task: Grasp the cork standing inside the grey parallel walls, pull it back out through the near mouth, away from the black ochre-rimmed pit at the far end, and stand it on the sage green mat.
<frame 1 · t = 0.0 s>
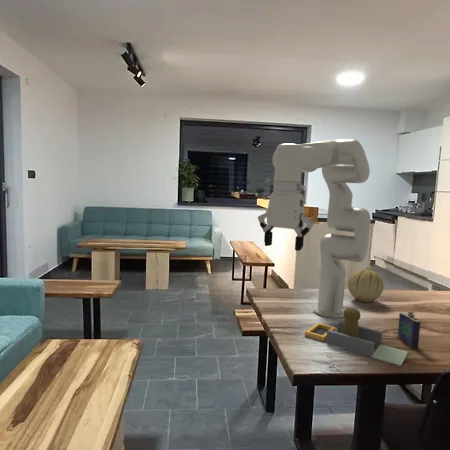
hand: (282, 247, 106), 31 cm above the table, tool pointing down, fingers open, 9 cm apart
grey parallel walls: (354, 343, 117), on the table
pit: (320, 333, 124), on the table
cork: (349, 342, 118), on the table
mat: (390, 355, 110), on the table
flask: (407, 343, 120), on the table
cantaloupe: (363, 301, 164), on the table
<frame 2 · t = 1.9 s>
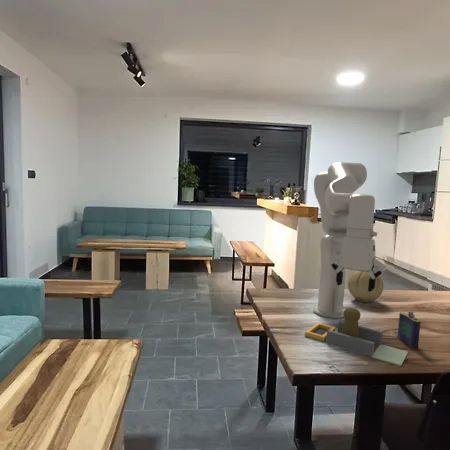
hand: (354, 287, 116), 18 cm above the table, tool pointing down, fingers open, 9 cm apart
nothing on the table moved.
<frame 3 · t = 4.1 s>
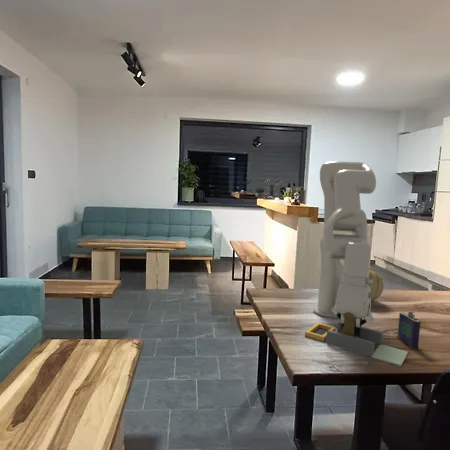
hand: (350, 335, 118), 2 cm above the table, tool pointing down, fingers closed on cork, 3 cm apart
cork: (348, 342, 118), on the table, touching gripper
everything else where it was.
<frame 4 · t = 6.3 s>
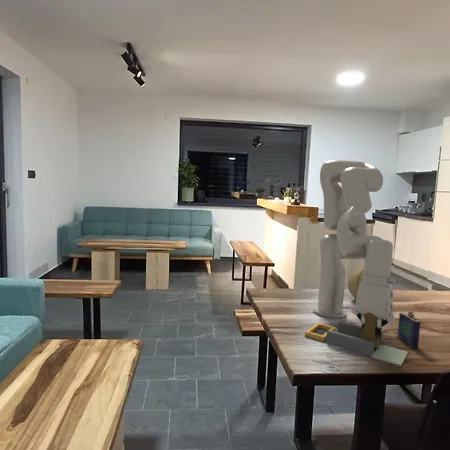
hand: (370, 336, 114), 4 cm above the table, tool pointing down, fingers closed on cork, 2 cm apart
cork: (369, 344, 114), point 1 cm above the table, touching gripper
everything else where it was.
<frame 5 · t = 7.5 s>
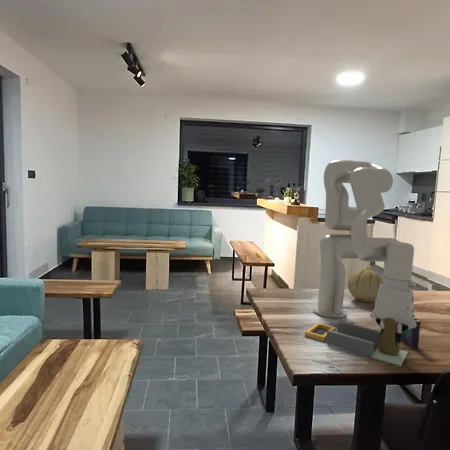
hand: (390, 342, 111), 4 cm above the table, tool pointing down, fingers closed on cork, 2 cm apart
cork: (388, 349, 111), point 1 cm above the table, touching gripper
everything else where it was.
when the fingers open (3 cm above the table, at t = 8.6 s): cork stays where it is, resting on mat.
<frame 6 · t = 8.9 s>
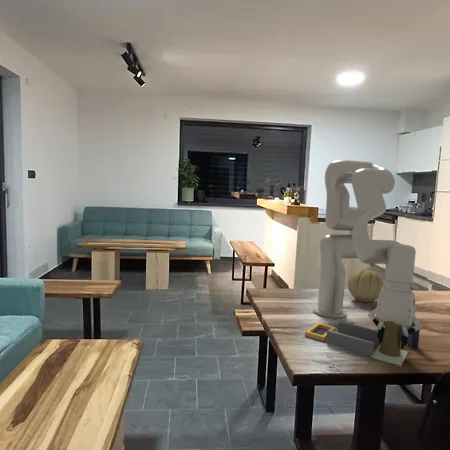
hand: (391, 343, 110), 3 cm above the table, tool pointing down, fingers open, 5 cm apart
cork: (389, 352, 111), resting on mat
everything else where it was.
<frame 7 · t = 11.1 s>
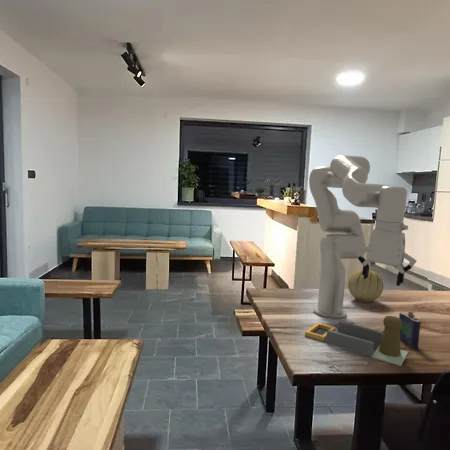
hand: (381, 281, 113), 21 cm above the table, tool pointing down, fingers open, 9 cm apart
nothing on the table moved.
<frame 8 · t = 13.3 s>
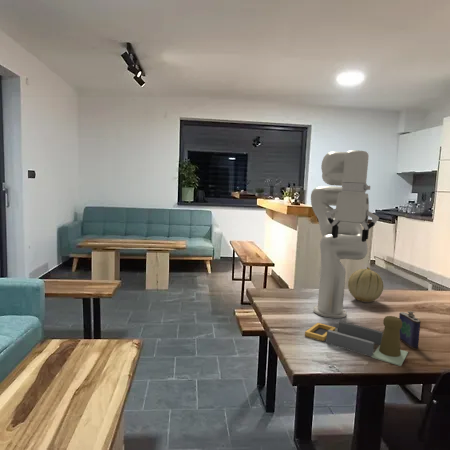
hand: (349, 239, 123), 32 cm above the table, tool pointing down, fingers open, 9 cm apart
nothing on the table moved.
at the end: cork inside the target area (1.5 cm from its centre), resting on mat; cork tilted 0°; the gripper is holding nothing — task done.
